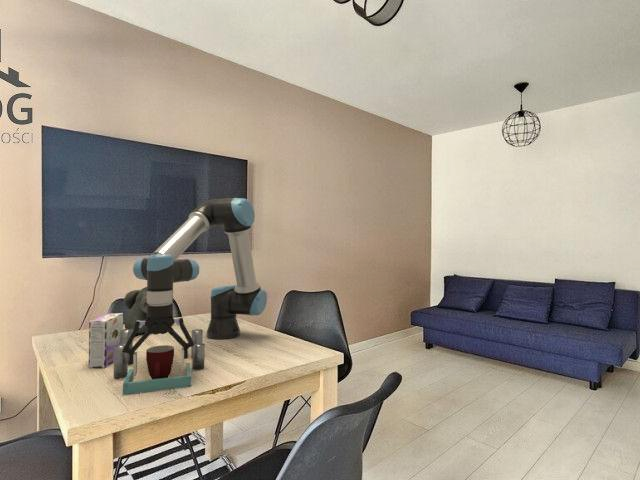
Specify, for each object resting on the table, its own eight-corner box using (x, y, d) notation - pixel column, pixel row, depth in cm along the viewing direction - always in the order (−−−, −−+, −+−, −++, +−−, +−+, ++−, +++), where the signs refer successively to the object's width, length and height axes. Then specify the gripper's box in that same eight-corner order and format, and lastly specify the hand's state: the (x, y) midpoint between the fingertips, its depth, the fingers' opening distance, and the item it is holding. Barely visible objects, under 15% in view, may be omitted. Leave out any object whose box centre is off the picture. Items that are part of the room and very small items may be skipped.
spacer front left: (204, 365, 129) (204, 342, 129) (204, 368, 125) (204, 345, 125) (192, 366, 128) (192, 343, 128) (192, 370, 124) (192, 346, 124)
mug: (174, 386, 110) (174, 353, 110) (144, 390, 107) (145, 356, 107) (173, 374, 120) (173, 344, 120) (146, 377, 117) (146, 346, 117)
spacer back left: (202, 354, 141) (202, 328, 141) (202, 357, 137) (202, 331, 137) (191, 355, 140) (191, 329, 140) (191, 358, 136) (191, 332, 136)
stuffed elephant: (171, 325, 189) (171, 273, 189) (159, 336, 168) (160, 277, 168) (131, 326, 186) (132, 274, 186) (115, 337, 165) (116, 278, 165)
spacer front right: (128, 373, 120) (128, 343, 120) (126, 377, 117) (127, 346, 117) (114, 374, 119) (115, 344, 119) (112, 379, 115) (112, 347, 115)
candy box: (107, 355, 139) (108, 312, 139) (123, 355, 139) (124, 312, 139) (87, 368, 125) (88, 320, 125) (105, 368, 125) (106, 320, 126)
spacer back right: (133, 361, 133) (133, 328, 133) (131, 364, 129) (132, 331, 129) (120, 362, 131) (121, 329, 131) (119, 366, 127) (119, 332, 127)
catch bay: (190, 371, 123) (190, 362, 123) (191, 386, 110) (191, 376, 110) (129, 378, 116) (129, 369, 116) (122, 394, 104) (123, 384, 104)
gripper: (201, 300, 121) (200, 363, 121) (116, 304, 112) (116, 372, 112) (202, 303, 114) (201, 370, 114) (112, 308, 105) (111, 381, 105)
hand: (159, 371), depth 113 cm, fingers open, 13 cm apart
